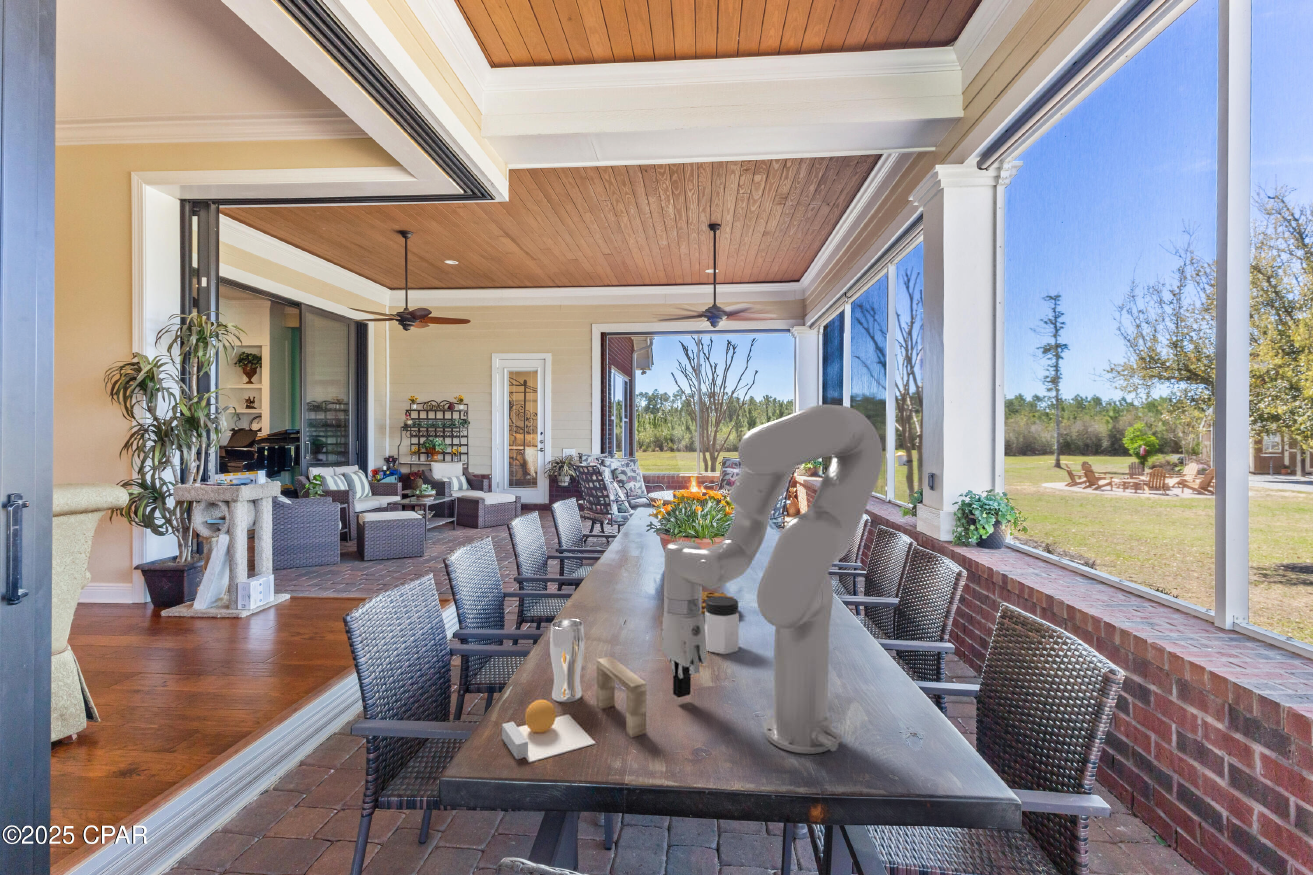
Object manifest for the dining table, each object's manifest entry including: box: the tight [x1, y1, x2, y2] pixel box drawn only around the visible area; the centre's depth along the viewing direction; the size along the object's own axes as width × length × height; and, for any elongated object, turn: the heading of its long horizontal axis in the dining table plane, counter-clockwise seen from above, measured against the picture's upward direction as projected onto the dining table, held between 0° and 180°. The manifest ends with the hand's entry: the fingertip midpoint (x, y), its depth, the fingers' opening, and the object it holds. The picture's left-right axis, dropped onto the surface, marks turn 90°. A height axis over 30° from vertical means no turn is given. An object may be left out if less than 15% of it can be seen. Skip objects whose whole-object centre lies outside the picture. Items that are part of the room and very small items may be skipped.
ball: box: [524, 699, 557, 733], centre depth 111 cm, size 6×6×6 cm
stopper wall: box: [501, 721, 528, 760], centre depth 106 cm, size 8×2×2 cm, turn 31°
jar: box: [704, 596, 740, 655], centre depth 154 cm, size 9×8×12 cm
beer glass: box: [549, 618, 585, 703], centre depth 126 cm, size 7×7×15 cm
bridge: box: [596, 656, 647, 739], centre depth 116 cm, size 3×14×9 cm, turn 31°
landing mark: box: [517, 714, 596, 764], centre depth 109 cm, size 12×12×1 cm
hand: (681, 694), depth 124 cm, fingers closed
